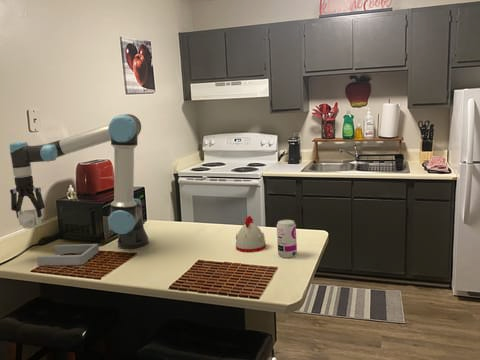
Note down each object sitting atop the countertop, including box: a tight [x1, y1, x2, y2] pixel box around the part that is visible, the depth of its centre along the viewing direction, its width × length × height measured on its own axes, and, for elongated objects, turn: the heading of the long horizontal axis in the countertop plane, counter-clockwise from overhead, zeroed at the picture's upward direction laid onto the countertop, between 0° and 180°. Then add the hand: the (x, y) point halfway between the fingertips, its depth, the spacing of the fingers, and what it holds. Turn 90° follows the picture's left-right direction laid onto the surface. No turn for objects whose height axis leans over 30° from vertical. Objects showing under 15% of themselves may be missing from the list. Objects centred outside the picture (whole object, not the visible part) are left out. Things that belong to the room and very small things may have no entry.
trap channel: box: [36, 243, 100, 267], centre depth 208 cm, size 22×17×4 cm
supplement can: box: [276, 219, 298, 259], centre depth 193 cm, size 8×8×15 cm
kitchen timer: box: [235, 215, 267, 253], centre depth 207 cm, size 14×14×15 cm
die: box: [17, 209, 37, 229], centre depth 207 cm, size 8×9×10 cm
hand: (30, 224), depth 208 cm, fingers closed on die, 8 cm apart
